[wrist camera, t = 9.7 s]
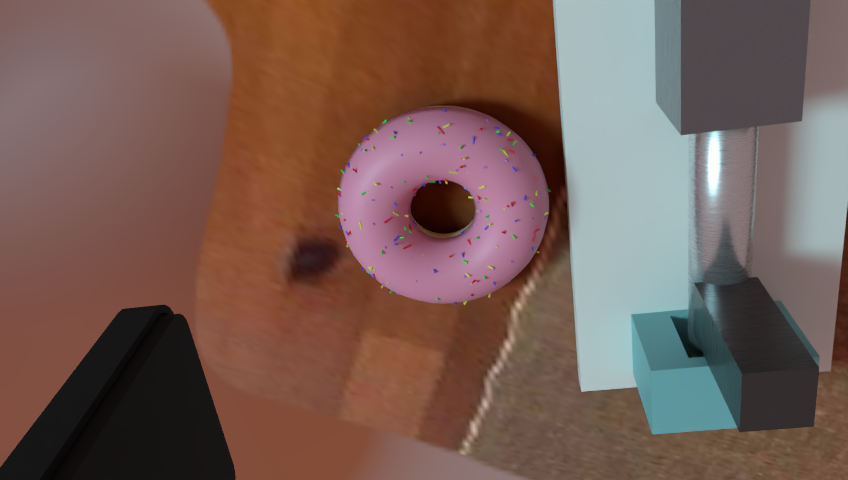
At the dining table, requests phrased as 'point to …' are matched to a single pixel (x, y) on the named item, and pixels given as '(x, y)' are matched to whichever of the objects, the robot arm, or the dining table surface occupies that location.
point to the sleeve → (730, 62)
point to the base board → (669, 184)
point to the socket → (680, 374)
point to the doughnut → (434, 161)
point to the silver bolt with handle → (739, 293)
